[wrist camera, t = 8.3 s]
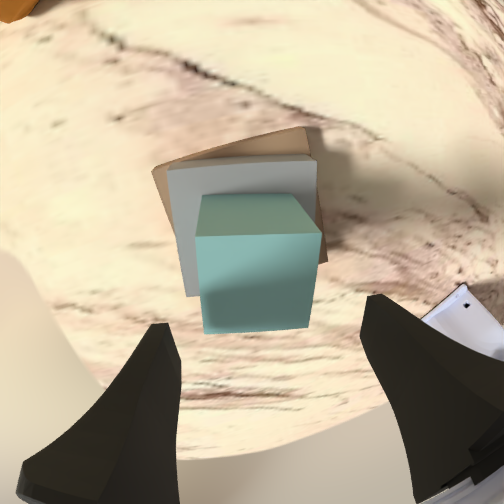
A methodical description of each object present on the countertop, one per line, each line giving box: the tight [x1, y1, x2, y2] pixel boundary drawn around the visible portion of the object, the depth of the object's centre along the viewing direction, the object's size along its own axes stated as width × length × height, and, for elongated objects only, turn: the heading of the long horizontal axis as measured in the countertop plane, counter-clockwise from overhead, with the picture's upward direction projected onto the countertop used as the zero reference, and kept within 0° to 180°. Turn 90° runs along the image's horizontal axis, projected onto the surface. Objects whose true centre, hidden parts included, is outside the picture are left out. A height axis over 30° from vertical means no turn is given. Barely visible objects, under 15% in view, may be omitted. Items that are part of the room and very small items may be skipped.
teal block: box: [195, 194, 322, 334], centre depth 14 cm, size 4×4×5 cm
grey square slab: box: [166, 154, 317, 297], centre depth 17 cm, size 8×8×2 cm
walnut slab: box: [151, 126, 328, 264], centre depth 19 cm, size 9×9×2 cm
